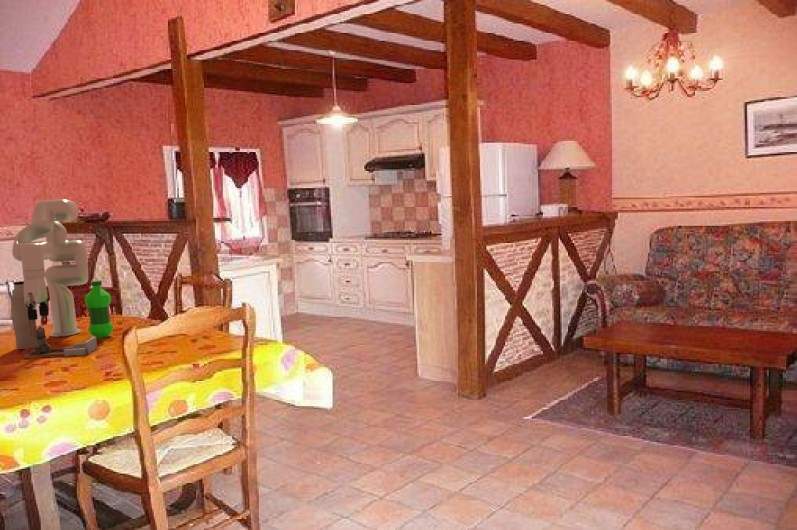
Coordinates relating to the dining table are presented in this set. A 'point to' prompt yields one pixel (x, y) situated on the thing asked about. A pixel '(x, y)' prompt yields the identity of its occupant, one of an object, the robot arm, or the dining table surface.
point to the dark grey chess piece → (42, 342)
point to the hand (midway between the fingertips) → (38, 317)
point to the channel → (31, 354)
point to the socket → (82, 348)
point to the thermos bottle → (22, 319)
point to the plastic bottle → (99, 310)
